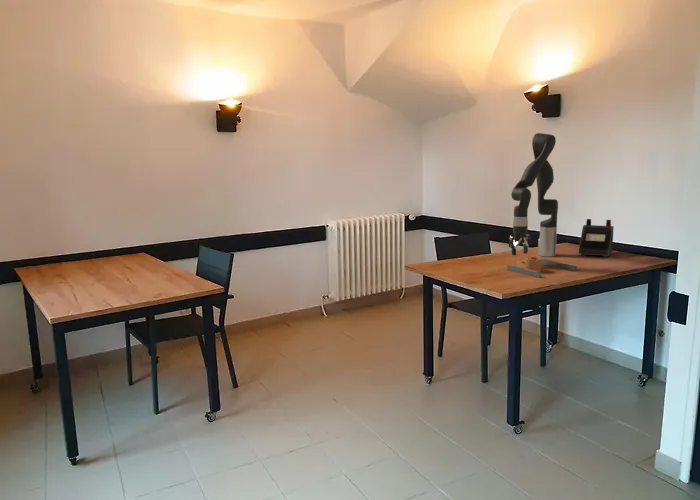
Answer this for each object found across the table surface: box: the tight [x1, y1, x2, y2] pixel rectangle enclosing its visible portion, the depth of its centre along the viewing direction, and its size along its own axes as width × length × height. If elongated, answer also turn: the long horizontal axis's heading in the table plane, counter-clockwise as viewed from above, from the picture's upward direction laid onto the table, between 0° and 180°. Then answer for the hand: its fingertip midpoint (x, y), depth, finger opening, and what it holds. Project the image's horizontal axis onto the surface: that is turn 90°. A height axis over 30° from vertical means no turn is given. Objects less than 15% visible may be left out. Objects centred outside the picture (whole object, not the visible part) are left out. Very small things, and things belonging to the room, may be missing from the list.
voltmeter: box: [578, 218, 614, 259], centre depth 323 cm, size 16×16×20 cm
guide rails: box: [506, 258, 578, 278], centre depth 289 cm, size 22×27×3 cm
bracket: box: [516, 256, 543, 273], centre depth 293 cm, size 18×8×7 cm, turn 9°
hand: (519, 254), depth 302 cm, fingers open, 8 cm apart
